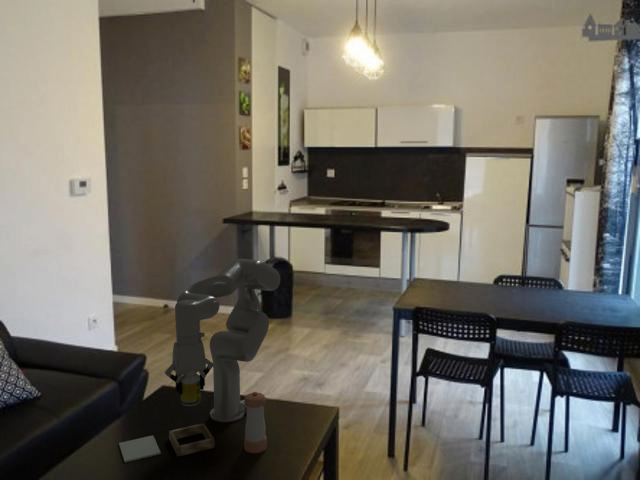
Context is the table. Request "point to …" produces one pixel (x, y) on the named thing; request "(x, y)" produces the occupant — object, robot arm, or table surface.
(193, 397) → the pill bottle
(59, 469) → the table surface
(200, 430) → the oak cradle
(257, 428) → the pepper shaker
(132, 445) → the ceramic tile
